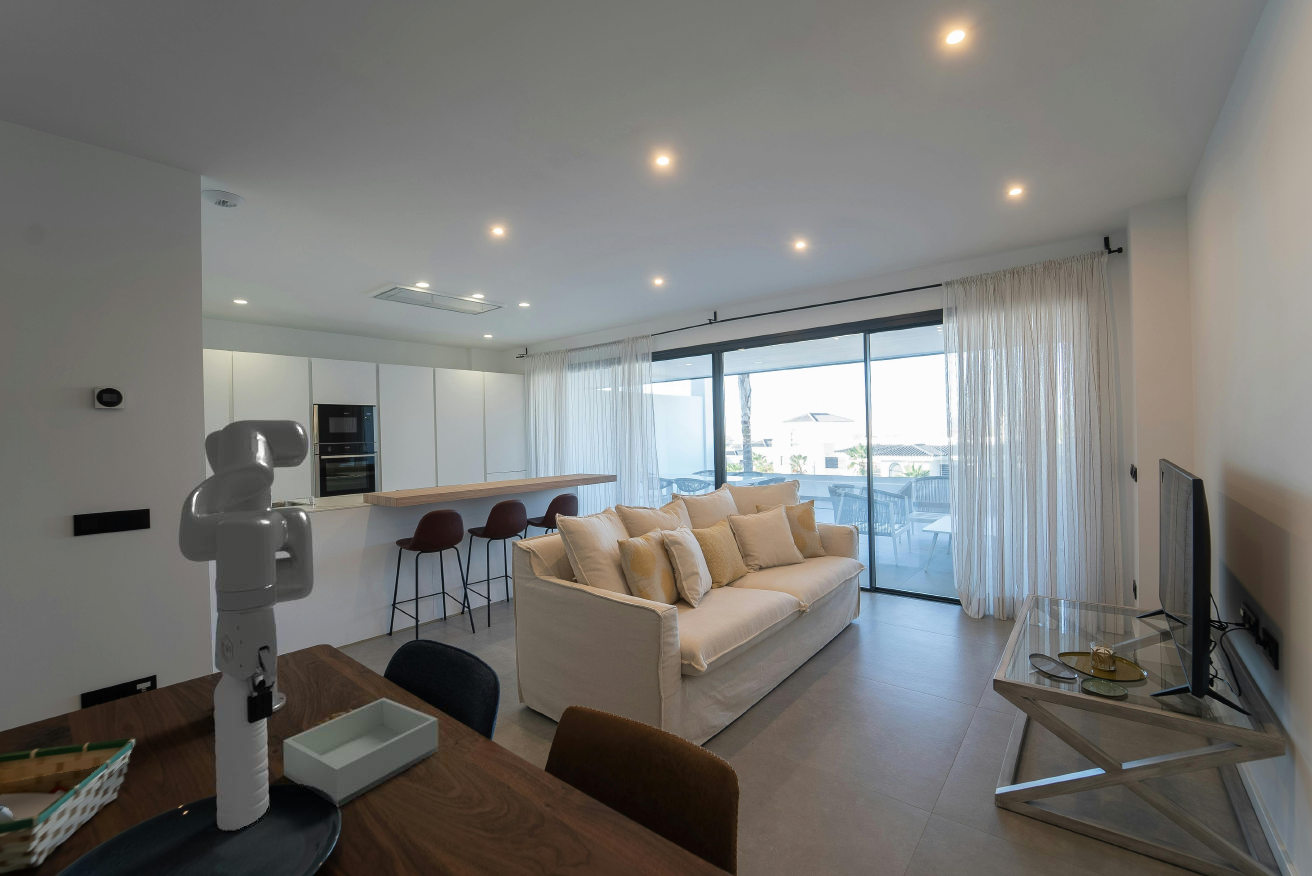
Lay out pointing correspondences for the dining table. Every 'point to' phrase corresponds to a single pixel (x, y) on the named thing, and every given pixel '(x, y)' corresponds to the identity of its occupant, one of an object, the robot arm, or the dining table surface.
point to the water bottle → (239, 757)
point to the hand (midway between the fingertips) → (249, 712)
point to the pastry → (330, 718)
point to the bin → (360, 749)
